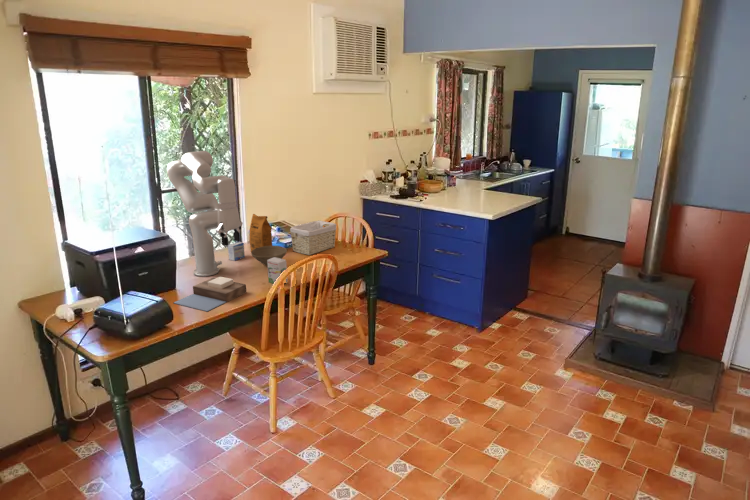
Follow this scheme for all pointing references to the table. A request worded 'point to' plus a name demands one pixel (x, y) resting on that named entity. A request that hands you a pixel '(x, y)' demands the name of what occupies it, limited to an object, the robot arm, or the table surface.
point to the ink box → (275, 268)
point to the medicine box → (236, 251)
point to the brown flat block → (219, 291)
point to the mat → (200, 302)
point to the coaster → (220, 282)
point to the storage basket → (313, 237)
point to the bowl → (268, 253)
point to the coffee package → (260, 232)
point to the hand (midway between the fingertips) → (231, 242)
